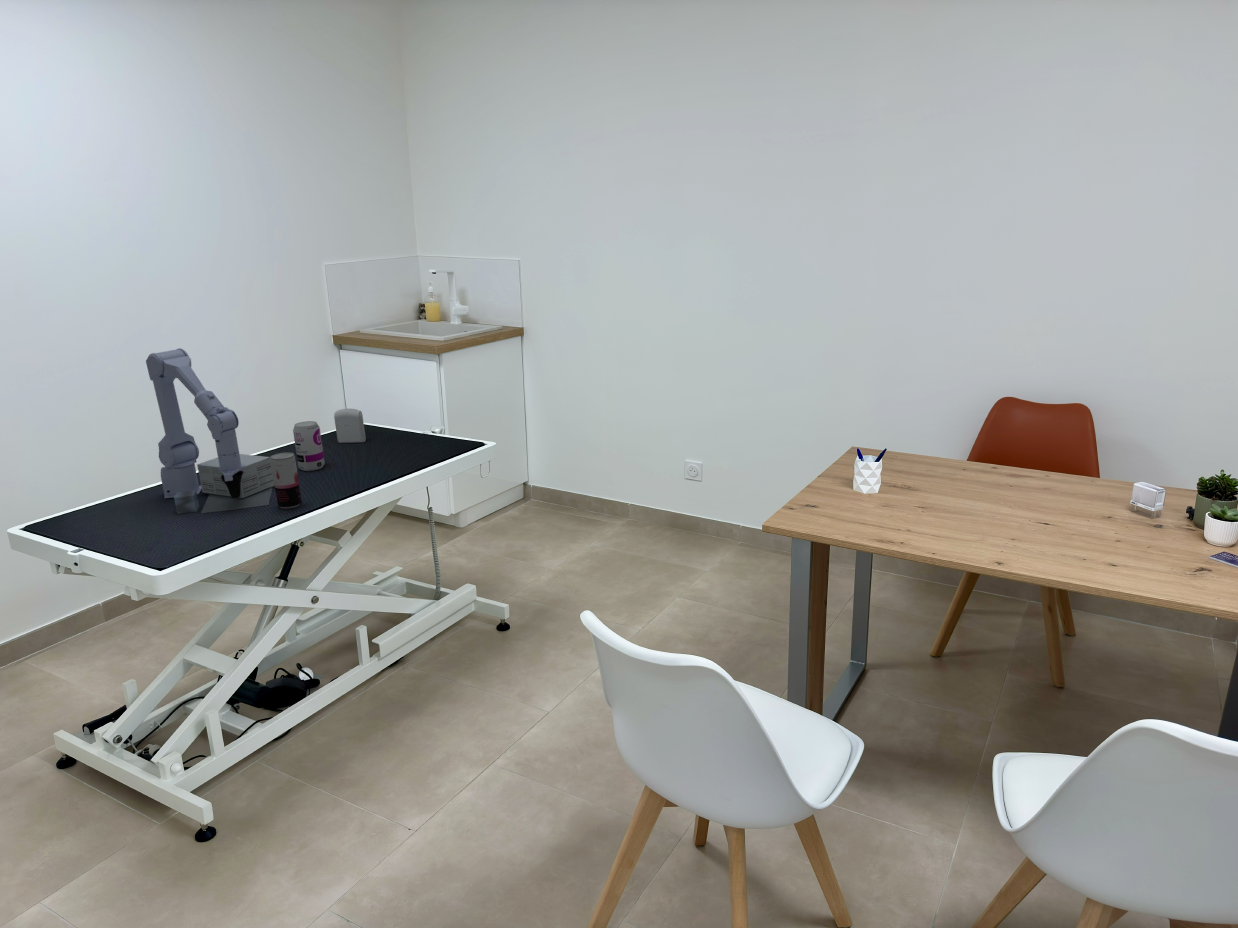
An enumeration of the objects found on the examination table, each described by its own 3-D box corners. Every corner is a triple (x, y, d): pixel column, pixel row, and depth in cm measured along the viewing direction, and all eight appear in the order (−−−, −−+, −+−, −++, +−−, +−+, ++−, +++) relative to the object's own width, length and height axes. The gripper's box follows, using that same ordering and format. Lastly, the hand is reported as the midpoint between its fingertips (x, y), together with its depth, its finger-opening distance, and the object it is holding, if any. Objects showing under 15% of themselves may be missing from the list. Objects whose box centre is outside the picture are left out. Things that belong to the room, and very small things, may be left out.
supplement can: (329, 464, 282) (323, 420, 277) (318, 471, 274) (312, 427, 270) (305, 463, 283) (299, 420, 278) (294, 471, 275) (287, 427, 270)
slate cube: (177, 514, 240) (174, 497, 238) (180, 508, 244) (177, 492, 243) (196, 511, 241) (193, 495, 240) (199, 506, 246) (196, 490, 244)
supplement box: (276, 485, 261) (271, 456, 258) (242, 499, 249) (237, 469, 246) (236, 479, 267) (231, 451, 265) (201, 493, 256) (196, 463, 253)
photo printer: (335, 443, 306) (331, 410, 302) (340, 440, 310) (336, 407, 306) (363, 443, 305) (359, 410, 301) (367, 440, 309) (363, 407, 305)
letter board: (200, 513, 239) (200, 512, 239) (211, 489, 259) (211, 488, 259) (268, 505, 244) (268, 504, 244) (273, 482, 264) (273, 481, 264)
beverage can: (306, 503, 245) (299, 454, 241) (288, 510, 240) (280, 460, 235) (291, 499, 249) (284, 451, 244) (273, 506, 243) (265, 457, 239)
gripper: (240, 457, 237) (248, 503, 241) (245, 444, 250) (253, 487, 254) (213, 460, 235) (221, 506, 239) (220, 447, 248) (227, 490, 252)
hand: (236, 497), depth 246 cm, fingers closed
